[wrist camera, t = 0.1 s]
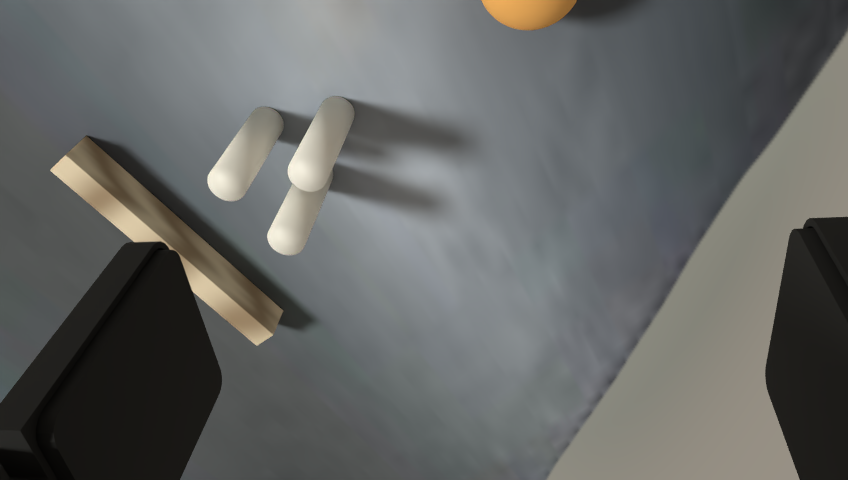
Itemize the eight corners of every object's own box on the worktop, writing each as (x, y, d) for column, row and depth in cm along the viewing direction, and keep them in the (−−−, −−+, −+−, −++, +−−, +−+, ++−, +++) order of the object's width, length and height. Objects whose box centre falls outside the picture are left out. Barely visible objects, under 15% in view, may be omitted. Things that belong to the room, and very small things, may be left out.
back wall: (70, 150, 55) (49, 170, 53) (86, 135, 55) (65, 155, 52) (267, 321, 63) (256, 345, 60) (283, 310, 62) (273, 334, 60)
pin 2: (293, 170, 54) (259, 236, 47) (316, 152, 53) (285, 217, 46) (317, 193, 55) (286, 261, 48) (340, 176, 54) (312, 243, 47)
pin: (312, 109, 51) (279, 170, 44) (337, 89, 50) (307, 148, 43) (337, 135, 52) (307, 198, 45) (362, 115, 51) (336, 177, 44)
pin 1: (242, 119, 52) (199, 180, 45) (265, 100, 51) (225, 159, 44) (267, 144, 53) (228, 207, 46) (290, 125, 52) (254, 187, 45)
